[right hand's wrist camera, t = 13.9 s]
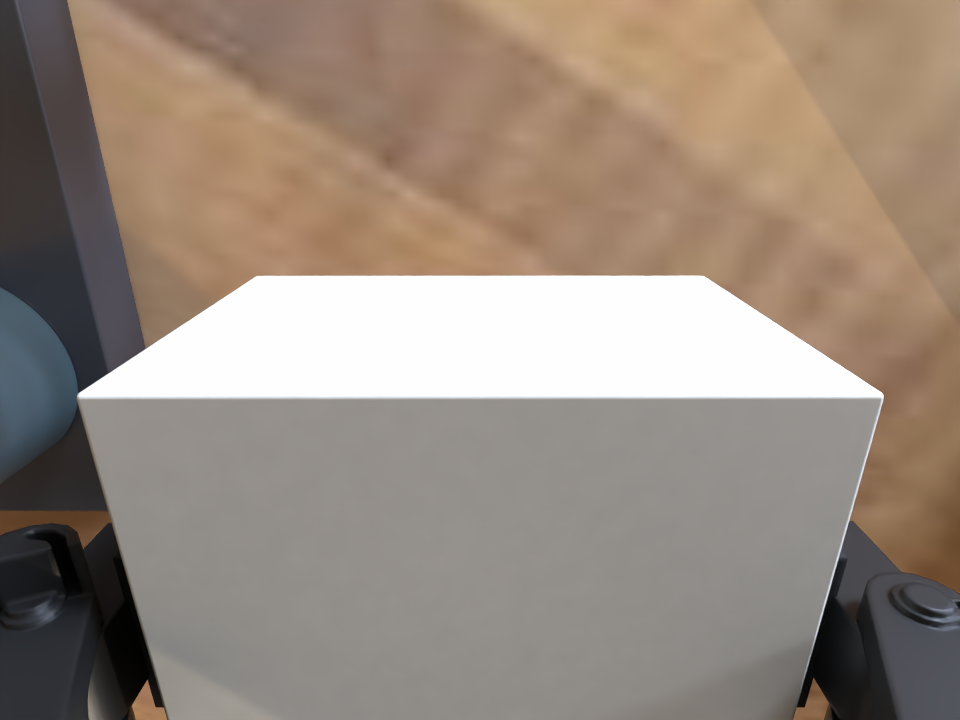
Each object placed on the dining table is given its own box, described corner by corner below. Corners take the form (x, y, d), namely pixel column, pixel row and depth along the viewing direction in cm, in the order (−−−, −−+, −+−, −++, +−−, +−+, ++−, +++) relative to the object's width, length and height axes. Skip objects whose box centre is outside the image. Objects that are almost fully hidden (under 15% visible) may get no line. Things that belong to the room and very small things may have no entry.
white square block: (255, 275, 10) (71, 393, 6) (704, 275, 10) (888, 394, 6) (305, 619, 13) (212, 881, 9) (654, 619, 13) (748, 881, 9)
